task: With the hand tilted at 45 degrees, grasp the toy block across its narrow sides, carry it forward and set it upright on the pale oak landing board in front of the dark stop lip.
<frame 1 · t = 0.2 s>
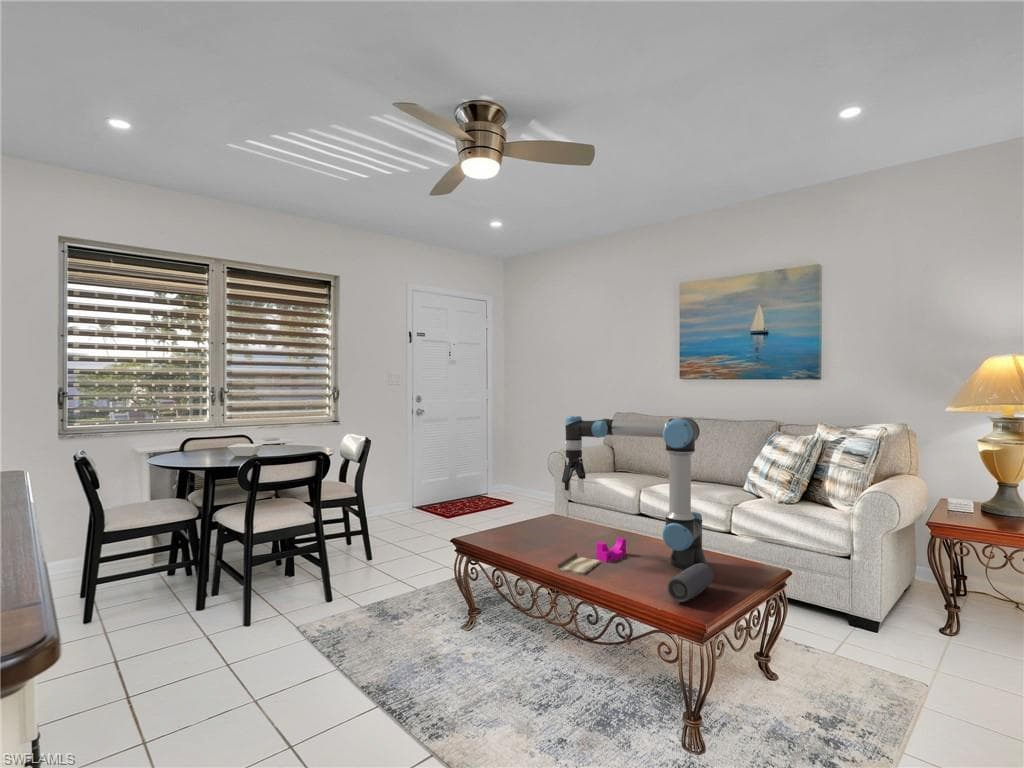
hand: (574, 495, 251), 28 cm above the table, tool pointing down, fingers open, 13 cm apart
landing board: (579, 566, 235), on the table
bluetooth speaker: (691, 596, 202), on the table
toy block: (613, 558, 247), on the table
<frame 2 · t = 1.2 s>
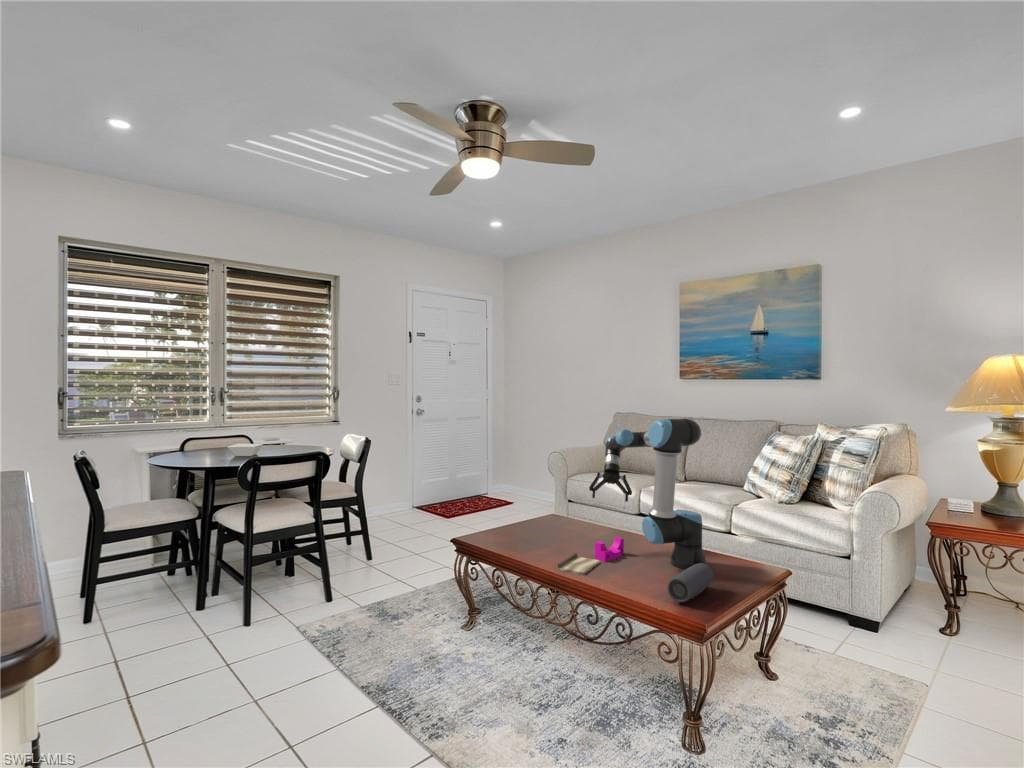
hand: (609, 506, 255), 22 cm above the table, tool tilted 35°, fingers open, 13 cm apart
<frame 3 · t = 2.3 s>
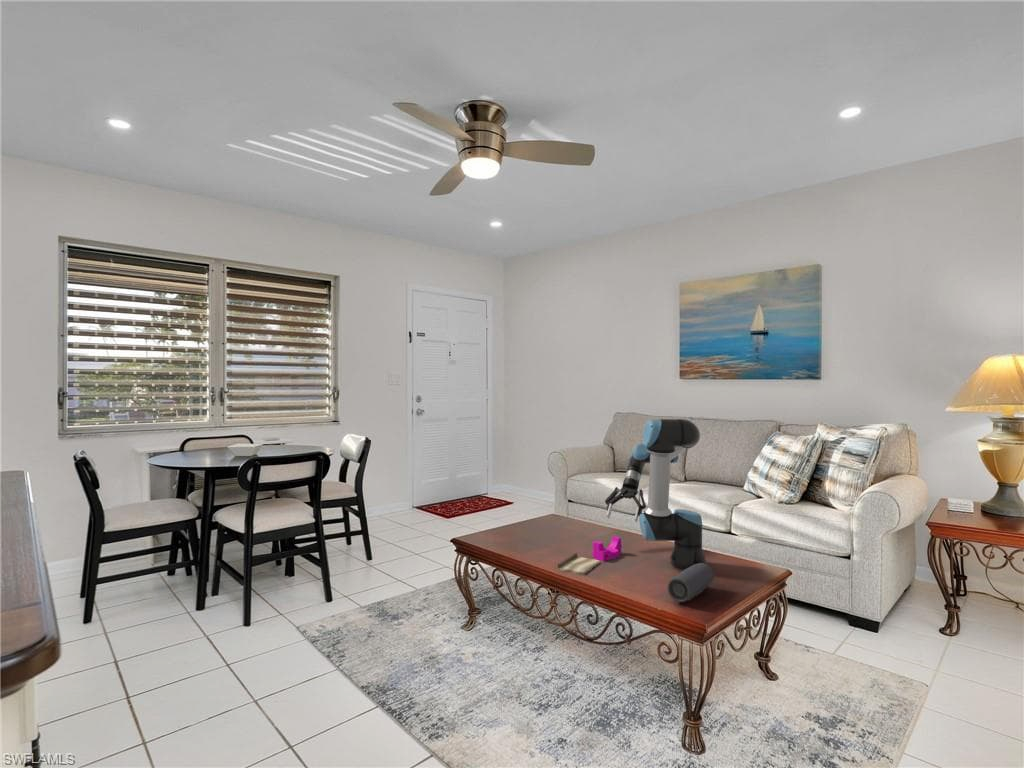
hand: (621, 518, 256), 16 cm above the table, tool tilted 45°, fingers open, 13 cm apart
toy block: (609, 557, 248), on the table
everything else where it was.
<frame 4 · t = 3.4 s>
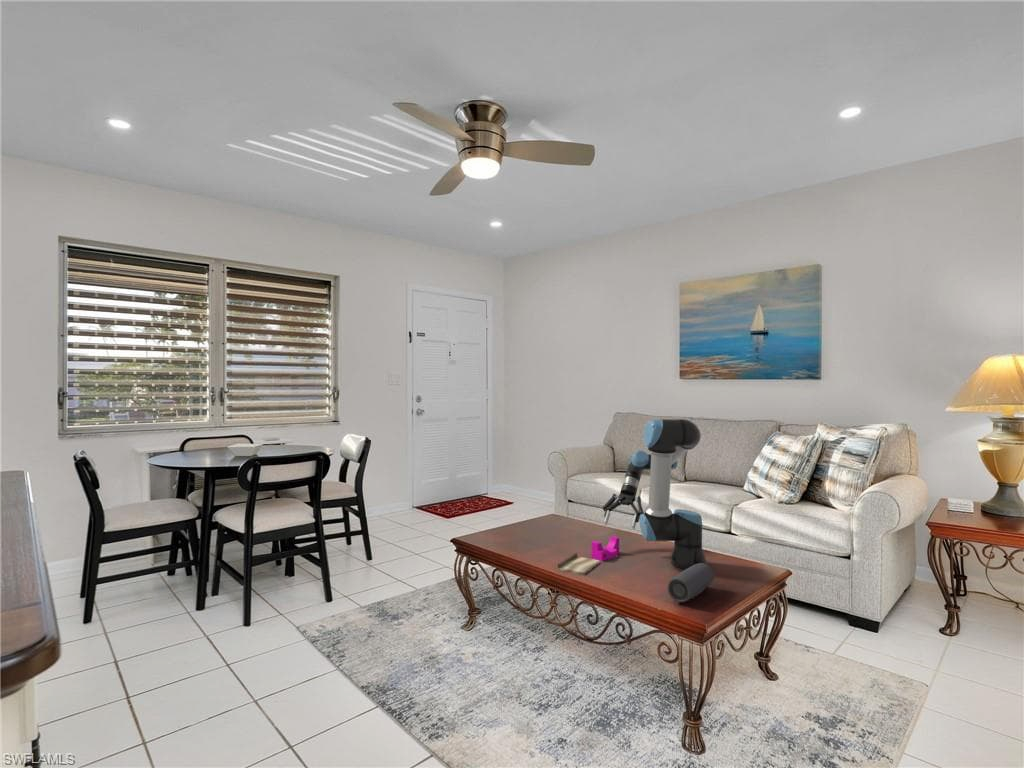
hand: (619, 525, 254), 13 cm above the table, tool tilted 45°, fingers open, 13 cm apart
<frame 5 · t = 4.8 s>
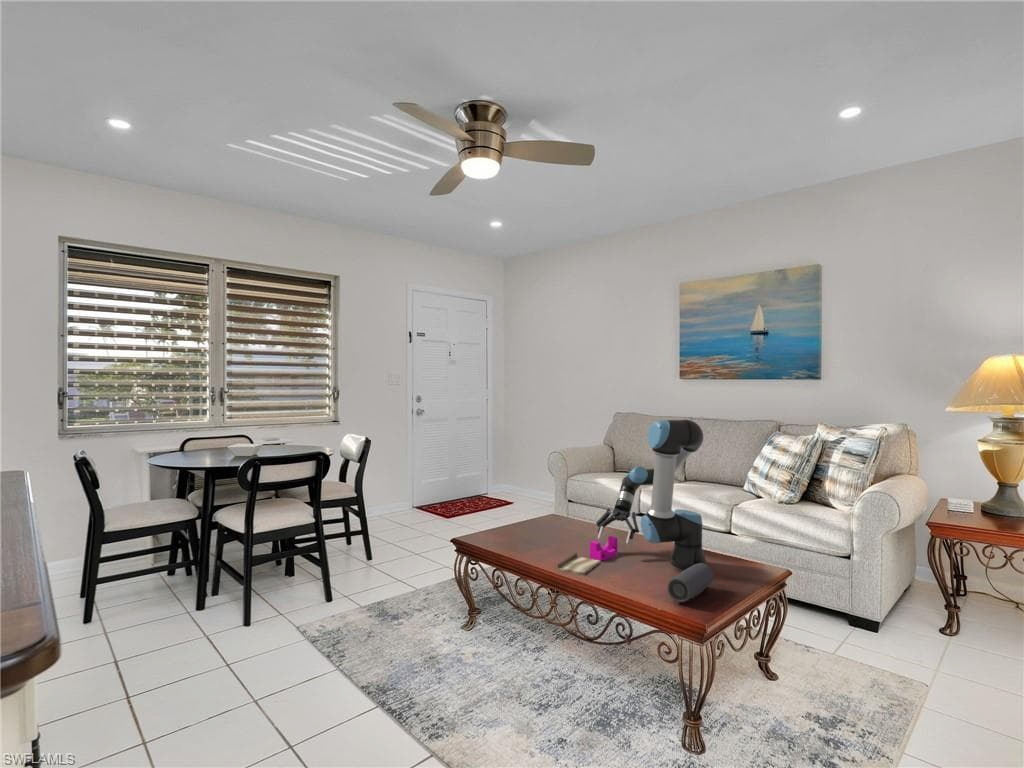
hand: (612, 542, 247), 7 cm above the table, tool tilted 45°, fingers open, 13 cm apart
toy block: (605, 557, 248), on the table, touching gripper
everything else where it was.
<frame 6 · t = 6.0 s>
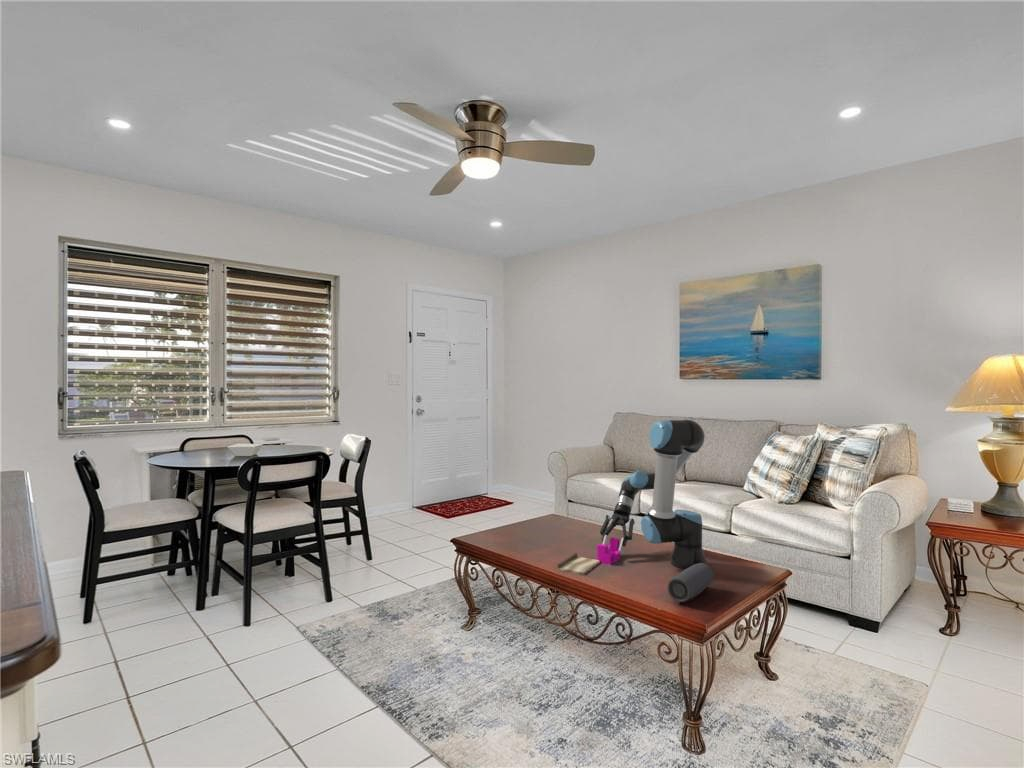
hand: (611, 550, 244), 4 cm above the table, tool tilted 45°, fingers open, 7 cm apart
toy block: (611, 559, 244), on the table
everything else where it was.
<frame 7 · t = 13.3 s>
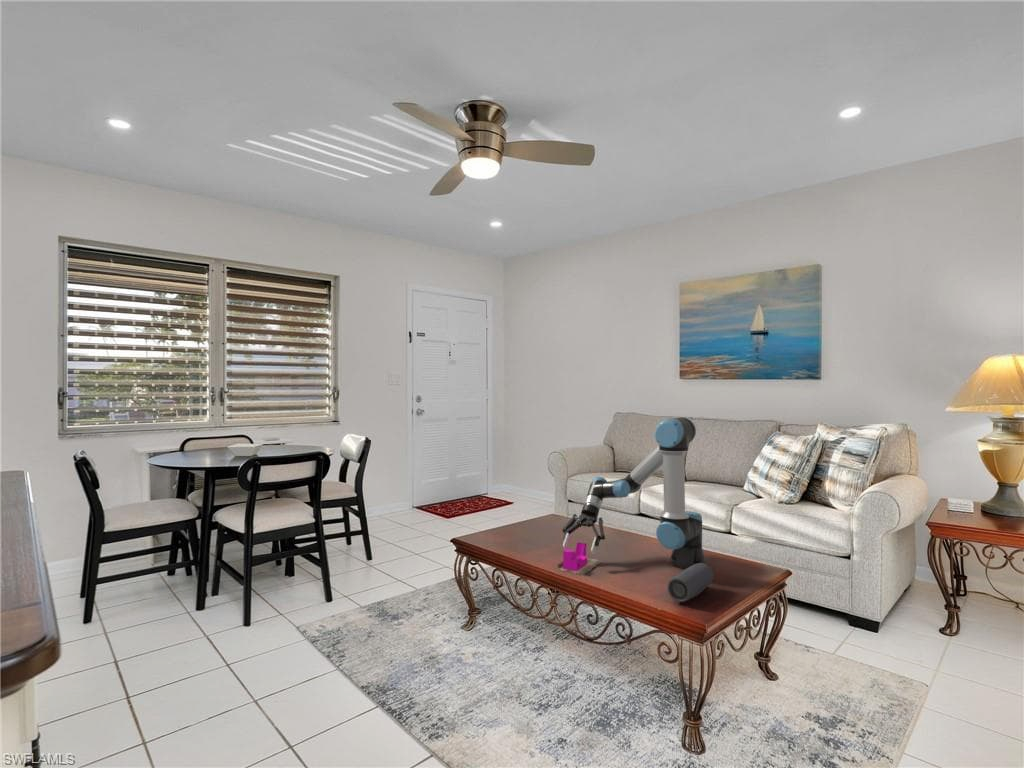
hand: (577, 549, 233), 8 cm above the table, tool tilted 45°, fingers open, 12 cm apart
toy block: (577, 565, 233), point 1 cm above the table, touching landing board
everything else where it was.
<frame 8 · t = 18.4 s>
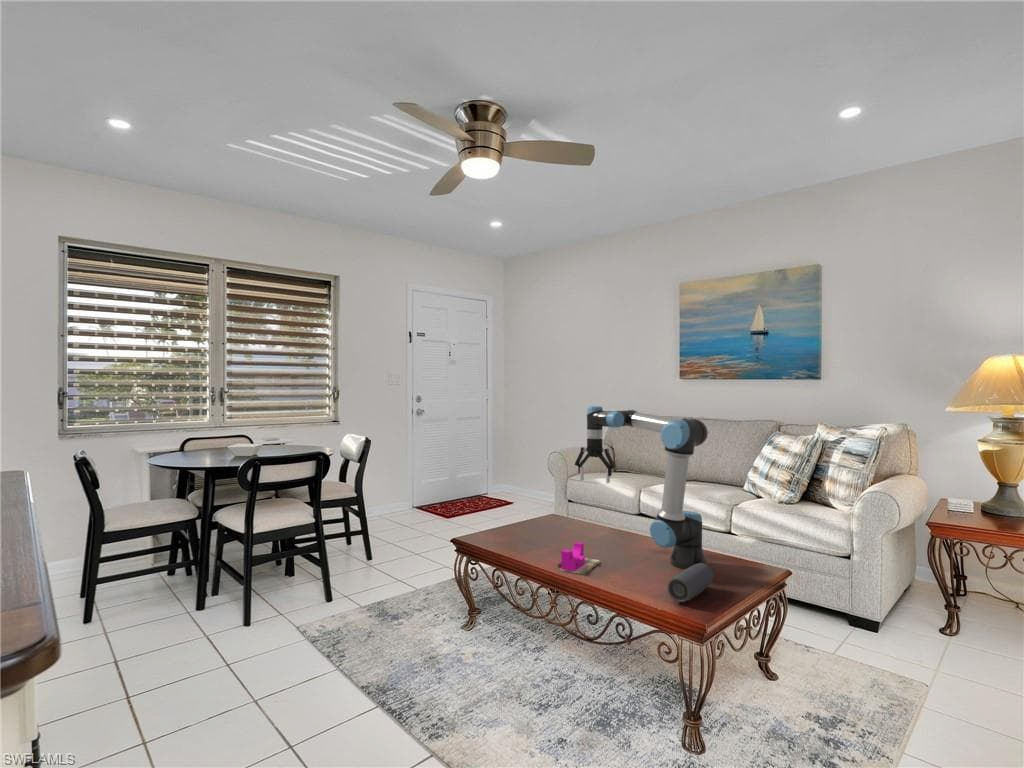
hand: (594, 481, 263), 32 cm above the table, tool pointing down, fingers open, 13 cm apart
at the end: toy block inside the target area on the landing board (2.2 cm from its centre), point 0.8 cm above the landing board's base; toy block tilted 0°; the gripper is holding nothing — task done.
